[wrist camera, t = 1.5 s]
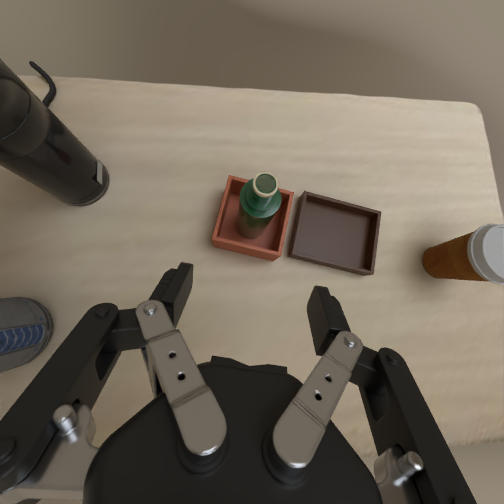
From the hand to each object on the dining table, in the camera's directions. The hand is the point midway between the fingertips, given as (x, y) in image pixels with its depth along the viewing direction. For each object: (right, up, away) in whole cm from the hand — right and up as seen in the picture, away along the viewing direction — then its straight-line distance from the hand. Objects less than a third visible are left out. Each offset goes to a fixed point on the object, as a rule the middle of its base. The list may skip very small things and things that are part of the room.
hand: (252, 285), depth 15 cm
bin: (0, +7, +28) cm, 29 cm away
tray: (+15, +5, +30) cm, 34 cm away
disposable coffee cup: (+37, 0, +31) cm, 48 cm away
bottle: (0, +7, +28) cm, 29 cm away
